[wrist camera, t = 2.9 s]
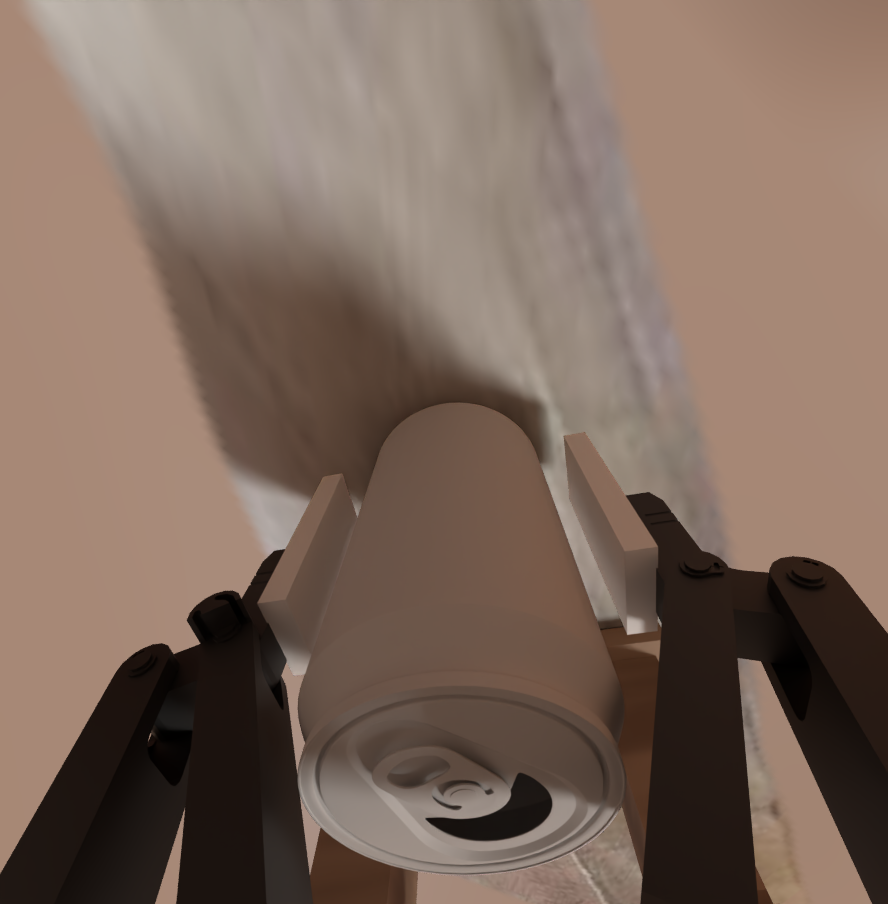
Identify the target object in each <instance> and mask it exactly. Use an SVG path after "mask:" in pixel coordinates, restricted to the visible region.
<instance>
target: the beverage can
mask: <svg viewBox="0 0 888 904" xmlns="http://www.w3.org/2000/svg"><path fill="white" fill-rule="evenodd" d="M624 709H625V706H624V698H623V694H622V689H621V686H620V683H619V680H618V677H617V675H616V672H615V669H614V666H613V664H612V661H611V658H610V655H609V653H608V650H607V647H606V644H605V641H604V639H603V636H602V633H601V630H600V628H599V625H598V622H597V619H596V617H595V614H594V611H593V608H592V606H591V603H590V600H589V597H588V595H587V592H586V589H585V586H584V584H583V581H582V578H581V575H580V573H579V570H578V567H577V564H576V562H575V559H574V556H573V553H572V550H571V548H570V545H569V542H568V539H567V537H566V534H565V531H564V528H563V526H562V523H561V520H560V517H559V515H558V512H557V509H556V506H555V504H554V501H553V498H552V495H551V493H550V490H549V487H548V484H547V482H546V479H545V476H544V473H543V470H542V468H541V465H540V462H539V459H538V457H537V454H536V451H535V449H534V447H533V445H532V443H531V441H530V440H529V438H528V437H527V436H526V434H525V433H524V432H523V430H522V429H521V428H520V427H519V426H518V425H517V424H515V423H514V422H513V421H512V420H510V419H509V418H507V417H506V416H504V415H503V414H501V413H499V412H497V411H495V410H493V409H490V408H487V407H484V406H481V405H476V404H471V403H445V404H439V405H435V406H431V407H428V408H425V409H422V410H420V411H418V412H416V413H414V414H412V415H411V416H409V417H408V418H406V419H405V420H403V421H402V422H401V423H400V424H399V425H398V426H397V427H396V428H395V429H394V430H393V431H392V432H391V433H390V434H389V436H388V437H387V439H386V440H385V442H384V444H383V445H382V448H381V450H380V452H379V455H378V458H377V461H376V464H375V467H374V470H373V473H372V476H371V479H370V482H369V485H368V488H367V491H366V494H365V497H364V500H363V503H362V506H361V509H360V512H359V515H358V518H357V521H356V524H355V527H354V530H353V533H352V536H351V539H350V542H349V545H348V548H347V551H346V554H345V557H344V560H343V563H342V565H341V568H340V571H339V574H338V577H337V580H336V583H335V586H334V589H333V592H332V595H331V598H330V601H329V604H328V607H327V610H326V613H325V616H324V619H323V622H322V625H321V628H320V631H319V634H318V637H317V640H316V643H315V646H314V649H313V652H312V655H311V658H310V661H309V664H308V667H307V670H306V673H305V676H304V679H303V682H302V684H301V688H300V693H299V698H298V716H299V722H300V727H301V731H302V734H303V738H304V741H305V745H304V749H303V752H302V755H301V759H300V762H299V767H298V775H297V782H298V789H299V793H300V797H301V799H302V802H303V804H304V806H305V808H306V810H307V811H308V813H309V814H310V815H311V817H312V818H313V819H314V821H315V822H316V823H317V824H318V825H319V826H320V827H321V828H322V829H323V830H324V831H325V832H326V833H328V834H329V835H330V836H331V837H333V838H334V839H335V840H337V841H338V842H340V843H341V844H343V845H344V846H346V847H348V848H349V849H351V850H353V851H355V852H357V853H359V854H362V855H364V856H366V857H368V858H371V859H373V860H376V861H379V862H382V863H385V864H388V865H391V866H395V867H399V868H403V869H407V870H412V871H417V872H424V873H431V874H439V875H457V876H472V875H487V874H499V873H508V872H514V871H519V870H523V869H528V868H532V867H536V866H539V865H543V864H546V863H549V862H552V861H554V860H557V859H559V858H562V857H564V856H566V855H568V854H570V853H572V852H574V851H576V850H578V849H580V848H581V847H583V846H585V845H586V844H588V843H589V842H591V841H592V840H594V839H595V838H596V837H597V836H598V835H599V834H601V833H602V832H603V831H604V830H605V829H606V828H607V827H608V826H609V825H610V823H611V822H612V821H613V819H614V818H615V816H616V815H617V814H618V812H619V810H620V808H621V806H622V803H623V801H624V797H625V793H626V781H627V779H626V772H625V768H624V764H623V761H622V758H621V754H620V751H619V748H618V743H619V739H620V736H621V732H622V728H623V723H624Z"/></svg>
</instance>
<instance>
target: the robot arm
mask: <svg viewBox="0 0 888 904" xmlns="http://www.w3.org/2000/svg"><path fill="white" fill-rule="evenodd" d="M564 446H565V456H566V467H567V478H568V489H569V499H570V502H571V504H572V506H573V509H574V511H575V513H576V516H577V518H578V520H579V523H580V525H581V527H582V530H583V532H584V534H585V537H586V539H587V541H588V544H589V546H590V548H591V551H592V553H593V555H594V558H595V560H596V563H597V565H598V567H599V570H600V572H601V574H602V577H603V579H604V581H605V584H606V586H607V588H608V591H609V593H610V595H611V598H612V600H613V602H614V605H615V607H616V609H617V612H618V614H619V616H620V619H621V621H622V623H623V626H624V628H625V631H626V633H627V635H629V634H638V633H646V632H654V631H658V617H659V619H660V621H661V623H662V627H661V640H660V654H659V667H658V680H657V693H656V707H655V720H654V733H653V746H652V760H651V773H650V786H649V799H648V813H647V826H646V839H645V852H644V866H643V879H642V892H641V904H758V893H757V881H756V869H755V858H754V846H753V834H752V823H751V811H750V799H749V788H748V776H747V764H746V753H745V741H744V730H743V718H742V706H741V695H740V683H739V671H738V660H737V658H743V659H749V660H756V661H761V662H762V664H763V667H764V669H765V671H766V673H767V675H768V677H769V680H770V682H771V684H772V686H773V688H774V691H775V693H776V695H777V697H778V699H779V701H780V704H781V706H782V708H783V710H784V713H785V715H786V717H787V719H788V721H789V723H790V725H791V728H792V730H793V732H794V734H795V736H796V738H797V741H798V743H799V745H800V747H801V749H802V752H803V754H804V756H805V758H806V760H807V763H808V765H809V767H810V769H811V771H812V773H813V775H814V778H815V780H816V782H817V784H818V787H819V789H820V791H821V793H822V795H823V798H824V799H825V802H826V804H827V806H828V808H829V811H830V813H831V815H832V817H833V819H834V821H835V824H836V826H837V828H838V830H839V832H840V835H841V837H842V839H843V841H844V843H845V845H846V847H847V850H848V852H849V854H850V856H851V859H852V861H853V863H854V865H855V867H856V869H857V872H858V874H859V876H860V878H861V880H862V883H863V885H864V887H865V889H866V891H867V893H868V896H869V898H870V900H871V902H872V904H888V633H887V632H886V631H885V630H884V628H883V627H882V626H881V625H880V623H879V622H878V621H877V619H876V618H875V617H874V616H873V615H872V613H871V612H870V611H869V609H868V608H867V607H866V605H865V604H864V603H863V601H862V600H861V599H860V598H859V596H858V595H857V594H856V593H855V591H854V590H853V589H852V587H851V586H850V585H849V584H848V582H847V581H846V580H845V579H844V577H843V576H842V575H841V574H840V573H839V572H837V571H836V570H835V569H834V568H832V567H830V566H828V565H826V564H824V563H823V562H820V561H817V560H813V559H810V558H805V557H794V556H792V557H785V558H780V559H778V560H777V561H775V562H773V563H772V565H771V567H770V570H769V573H765V572H754V571H743V570H737V569H732V568H728V566H727V564H726V563H725V562H724V561H722V560H721V559H720V558H719V557H717V556H715V555H713V554H711V553H708V552H704V551H701V549H700V548H699V547H698V545H697V544H696V543H695V542H694V540H693V539H692V538H691V536H690V535H689V534H688V532H687V531H686V530H685V529H684V527H683V526H682V525H681V523H680V522H679V521H678V520H677V518H676V517H675V515H674V514H673V513H671V510H670V509H669V508H668V506H667V505H666V504H665V502H664V501H663V500H662V499H660V498H658V497H656V496H655V495H653V494H651V493H649V492H647V493H640V494H634V495H627V496H625V494H624V493H623V491H622V489H621V488H620V486H619V485H618V483H617V482H616V480H615V479H614V477H613V475H612V474H611V472H610V471H609V469H608V468H607V466H606V464H605V463H604V461H603V460H602V458H601V457H600V455H599V454H598V452H597V450H596V449H595V447H594V446H593V444H592V443H591V441H590V439H589V438H588V436H587V435H586V433H585V432H583V433H577V434H571V435H565V436H564ZM356 521H357V515H356V512H355V509H354V506H353V503H352V500H351V497H350V494H349V491H348V488H347V485H346V482H345V480H344V477H343V474H342V473H341V474H335V475H329V476H323V478H322V480H321V482H320V484H319V486H318V488H317V490H316V492H315V493H314V495H313V497H312V499H311V501H310V503H309V505H308V507H307V509H306V511H305V513H304V515H303V516H302V518H301V520H300V522H299V524H298V526H297V528H296V530H295V532H294V534H293V536H292V538H291V540H290V541H289V543H288V545H287V547H286V549H283V550H277V551H274V552H273V553H272V554H271V555H270V556H268V557H267V558H266V559H265V560H264V561H263V562H262V564H261V566H260V568H259V569H258V571H257V573H256V576H254V578H253V580H252V582H251V585H250V586H249V587H248V589H247V591H246V592H245V594H244V596H243V597H242V599H241V597H240V595H239V593H237V592H235V591H223V592H219V593H216V594H214V595H212V596H210V597H208V598H206V599H205V600H203V601H202V602H200V603H199V604H198V605H196V607H195V608H194V609H193V610H192V611H191V612H190V614H189V617H188V619H187V622H188V623H189V625H190V626H191V628H192V630H193V632H194V633H195V635H196V637H197V638H198V640H199V642H200V643H201V644H199V645H197V646H194V647H191V648H189V649H186V650H183V651H181V652H178V653H176V654H173V653H172V651H171V650H170V648H169V646H168V645H165V644H162V643H161V644H153V645H151V646H148V647H145V648H143V649H141V650H139V651H138V652H136V653H135V654H133V655H132V656H131V657H129V658H128V659H127V660H126V661H125V662H124V663H123V664H122V665H121V666H120V668H119V669H118V670H117V672H116V673H115V675H114V677H113V678H112V680H111V682H110V684H109V685H108V687H107V689H106V690H105V692H104V694H103V696H102V698H101V699H100V701H99V703H98V705H97V706H96V708H95V710H94V712H93V713H92V715H91V717H90V718H89V720H88V722H87V724H86V725H85V727H84V729H83V731H82V732H81V734H80V736H79V738H78V739H77V741H76V743H75V745H74V746H73V748H72V750H71V752H70V753H69V755H68V757H67V758H66V760H65V762H64V764H63V765H62V768H61V769H60V771H59V772H58V774H57V776H56V778H55V780H54V781H53V783H52V785H51V786H50V788H49V790H48V792H47V793H46V795H45V797H44V799H43V801H42V802H41V804H40V806H39V807H38V809H37V811H36V813H35V814H34V816H33V818H32V820H31V821H30V823H29V825H28V827H27V828H26V830H25V832H24V834H23V835H22V837H21V839H20V840H19V842H18V844H17V846H16V848H15V849H14V851H13V853H12V854H11V856H10V858H9V860H8V861H7V863H6V865H5V867H4V868H3V870H2V872H1V874H0V904H155V902H156V898H157V895H158V892H159V889H160V886H161V882H162V879H163V876H164V873H165V869H166V866H167V863H168V860H169V857H170V853H171V850H172V847H173V844H174V841H175V838H176V834H177V831H178V828H179V824H180V821H181V818H182V815H183V812H184V809H185V817H184V828H183V839H182V849H181V859H180V871H179V882H178V893H177V902H176V904H313V898H312V890H311V882H310V874H309V866H308V858H307V850H306V842H305V834H304V826H303V818H302V810H301V802H300V794H299V789H298V782H297V769H296V761H295V753H294V745H293V737H292V729H291V721H290V713H289V705H288V697H287V690H286V685H285V683H284V681H283V678H282V677H281V675H282V672H283V669H284V667H285V664H286V662H287V664H288V666H289V668H290V670H291V672H292V674H293V676H298V675H305V673H306V670H307V667H308V664H309V661H310V658H311V655H312V652H313V649H314V646H315V643H316V640H317V637H318V634H319V631H320V628H321V625H322V622H323V619H324V616H325V613H326V610H327V607H328V604H329V601H330V598H331V595H332V592H333V589H334V586H335V583H336V580H337V577H338V574H339V571H340V568H341V565H342V563H343V560H344V557H345V554H346V551H347V548H348V545H349V542H350V539H351V536H352V533H353V530H354V527H355V524H356ZM150 733H151V737H150V739H149V735H150ZM148 739H149V741H148Z"/></svg>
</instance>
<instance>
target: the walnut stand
mask: <svg viewBox="0 0 888 904" xmlns="http://www.w3.org/2000/svg"><path fill="white" fill-rule="evenodd" d="M601 633H602V636H603V639H604V641H605V644H606V647H607V650H608V653H609V655H610V658H611V661H612V664H613V666H614V669H615V672H616V675H617V677H618V680H619V683H620V686H621V689H622V694H623V698H624V706H625V709H624V723H623V728H622V732H621V736H620V739H619V743H618V748H619V751H620V754H621V758H622V761H623V764H624V768H625V772H626V779H627V781H626V793H625V797H624V801H623V803H622V808H623V811H624V815H625V818H626V822H627V825H628V828H629V832H630V835H631V839H632V842H633V846H634V849H635V853H636V856H637V859H638V863H639V866H640V870H641V873H642V877H643V866H644V852H645V839H646V826H647V813H648V799H649V786H650V773H651V760H652V746H653V733H654V720H655V707H656V693H657V680H658V667H659V654H660V640H661V627H660V625H659V623H658V631H654V632H646V633H638V634H629V635H627V633H626V631H625V628H624V627H619V628H611V629H603V630H601ZM755 869H756V867H755ZM417 880H418V872H417V871H412V870H407V869H403V868H399V867H395V866H391V865H388V864H385V863H382V862H379V861H376V860H373V859H371V858H368V857H366V856H364V855H362V854H359V853H357V852H355V851H353V850H351V849H349V848H348V847H346V846H344V845H343V844H341V843H340V842H338V841H337V840H335V839H334V838H333V837H331V836H330V835H329V834H328V833H326V832H325V831H324V830H323V829H322V828H321V829H320V833H319V837H318V842H317V847H316V851H315V856H314V860H313V865H312V869H311V874H310V882H311V890H312V898H313V904H416V897H417ZM756 881H757V893H758V904H773V903H772V900H771V898H770V896H769V894H768V892H767V890H766V888H765V886H764V883H763V881H762V879H761V877H760V875H759V873H758V871H757V869H756Z"/></svg>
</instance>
